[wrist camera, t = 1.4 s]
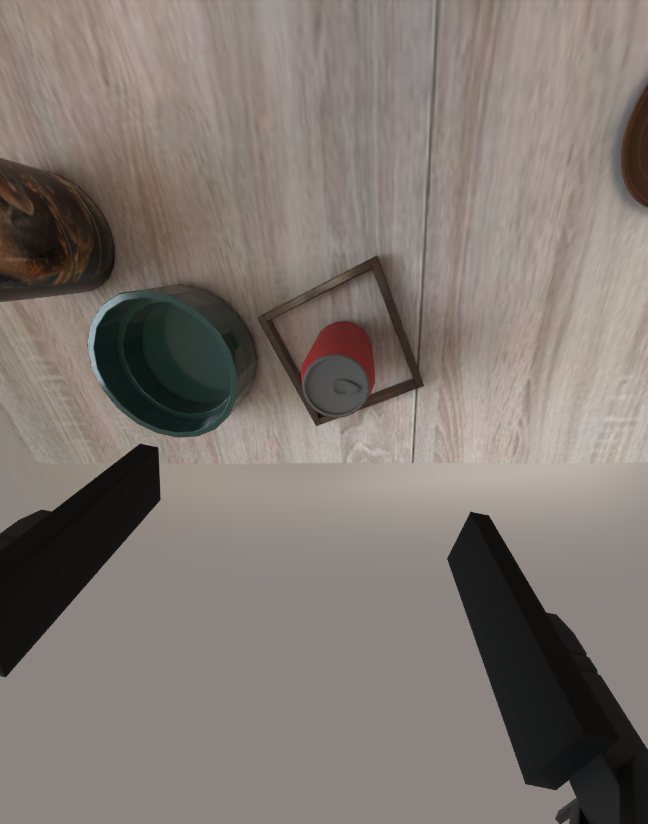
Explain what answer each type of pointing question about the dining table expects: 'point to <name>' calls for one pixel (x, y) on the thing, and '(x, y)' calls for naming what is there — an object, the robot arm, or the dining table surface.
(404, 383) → the brown square frame
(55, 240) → the jar
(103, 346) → the green bowl
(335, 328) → the beer can
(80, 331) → the dining table surface
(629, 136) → the cup and saucer
